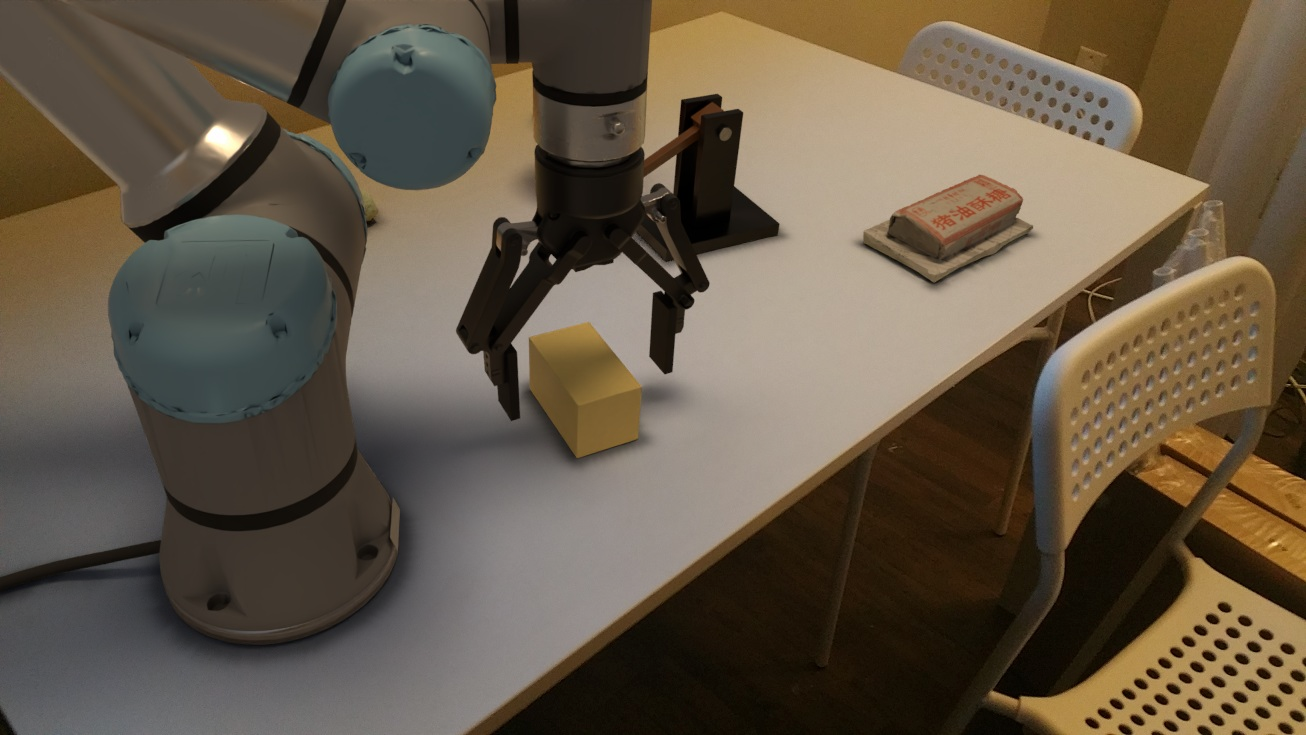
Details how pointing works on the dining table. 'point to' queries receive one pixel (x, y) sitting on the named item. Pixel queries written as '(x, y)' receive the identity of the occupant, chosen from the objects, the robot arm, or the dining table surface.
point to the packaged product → (951, 227)
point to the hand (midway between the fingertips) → (587, 386)
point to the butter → (584, 389)
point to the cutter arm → (679, 141)
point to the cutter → (711, 186)
